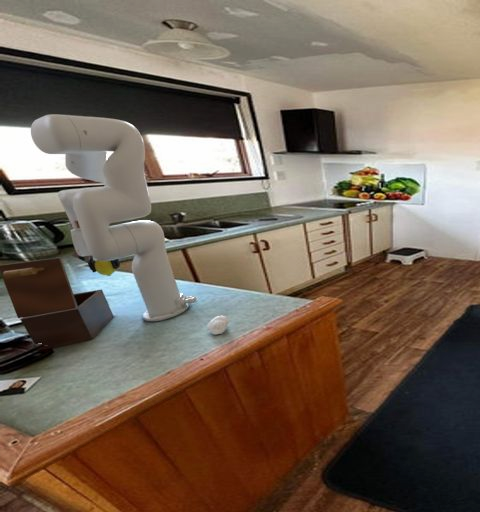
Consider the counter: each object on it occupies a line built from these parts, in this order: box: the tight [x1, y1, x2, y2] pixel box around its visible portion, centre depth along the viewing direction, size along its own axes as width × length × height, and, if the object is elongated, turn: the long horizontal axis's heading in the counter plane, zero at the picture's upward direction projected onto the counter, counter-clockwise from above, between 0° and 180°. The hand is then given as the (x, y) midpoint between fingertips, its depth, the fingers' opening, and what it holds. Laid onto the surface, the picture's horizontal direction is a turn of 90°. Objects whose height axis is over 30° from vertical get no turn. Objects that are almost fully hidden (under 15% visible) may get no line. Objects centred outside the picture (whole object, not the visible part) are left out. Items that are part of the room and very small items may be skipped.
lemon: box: [95, 259, 117, 277], centre depth 105 cm, size 6×6×8 cm
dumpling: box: [206, 315, 229, 336], centre depth 81 cm, size 7×5×4 cm
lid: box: [0, 257, 78, 319], centre depth 71 cm, size 14×12×5 cm
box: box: [19, 289, 115, 352], centre depth 82 cm, size 14×12×10 cm
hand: (106, 269), depth 105 cm, fingers closed on lemon, 5 cm apart
